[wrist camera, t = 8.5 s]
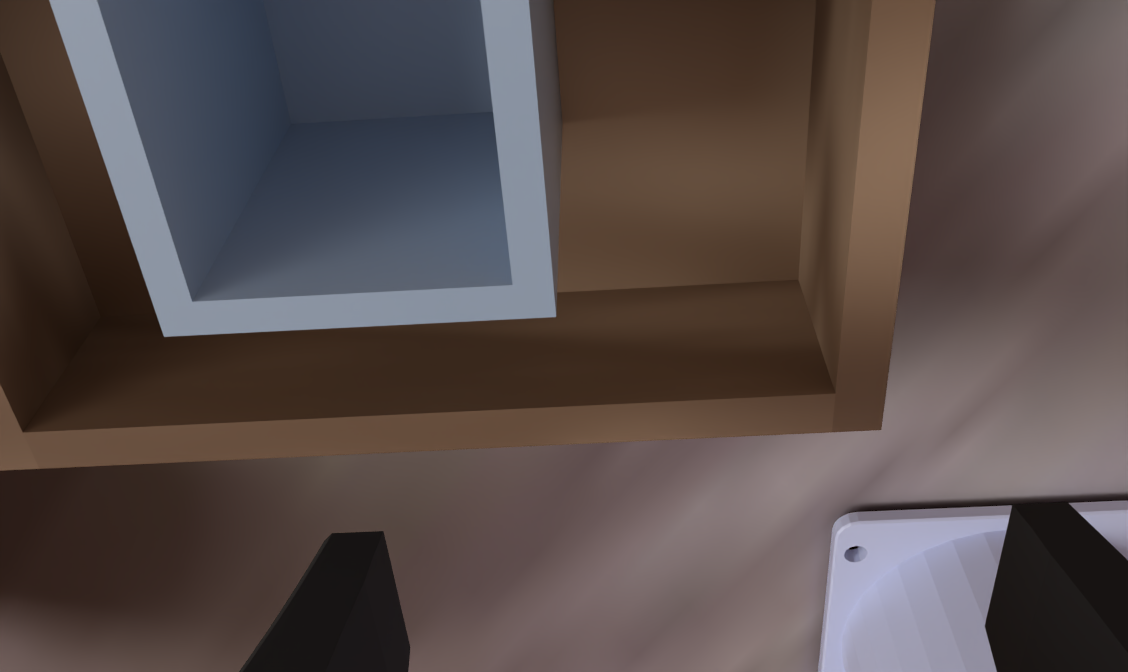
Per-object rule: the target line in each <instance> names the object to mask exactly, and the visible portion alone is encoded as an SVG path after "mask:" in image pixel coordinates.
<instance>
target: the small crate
mask: <svg viewBox="0 0 1128 672" xmlns="http://www.w3.org/2000/svg"><path fill="white" fill-rule="evenodd" d="M49 1H50V4H51V7H52V10H53V13H54V16H55V19H56V22H57V25H58V28H59V30H60V33H61V36H62V39H63V42H64V45H65V48H66V51H67V54H68V57H69V60H70V63H71V66H72V69H73V72H74V74H75V77H76V80H77V83H78V86H79V89H80V92H81V95H82V98H83V101H84V104H85V107H86V110H87V113H88V116H89V118H90V121H91V124H92V127H93V130H94V133H95V136H96V139H97V142H98V145H99V148H100V151H101V154H102V157H103V159H104V162H105V165H106V168H107V171H108V174H109V177H110V180H111V183H112V186H113V189H114V192H115V195H116V198H117V201H118V203H119V206H120V209H121V212H122V215H123V218H124V221H125V224H126V227H127V230H128V233H129V236H130V239H131V242H132V244H133V247H134V250H135V253H136V256H137V259H138V262H139V265H140V268H141V271H142V274H143V277H144V280H145V283H146V286H147V288H148V291H149V294H150V297H151V300H152V303H153V306H154V309H155V312H156V315H157V318H158V321H159V324H160V327H161V330H162V332H163V335H164V337H171V336H191V335H211V334H231V333H251V332H270V331H290V330H310V329H330V328H349V327H369V326H389V325H409V324H429V323H448V322H468V321H488V320H508V319H527V318H547V317H556V310H557V279H558V248H559V217H560V186H561V155H562V110H561V97H560V83H559V70H558V56H557V43H556V29H555V15H554V2H553V0H49Z"/></svg>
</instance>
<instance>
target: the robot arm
mask: <svg viewBox="0 0 1128 672" xmlns="http://www.w3.org/2000/svg"><path fill="white" fill-rule="evenodd" d="M854 546H860V547H858V548H857V549H853V550H849V548H850V547H854ZM409 655H410V644H409V640H408V636H407V631H406V627H405V623H404V618H403V614H402V610H401V605H400V601H399V597H398V592H397V588H396V584H395V579H394V575H393V571H392V566H391V562H390V558H389V553H388V549H387V545H386V540H385V536H384V532H383V531H379V532H355V533H332V534H331V535H330V536H329V537H328V538H327V539H326V540H325V541H324V543H323V544H322V546H321V547H320V549H319V551H318V552H317V554H316V556H315V557H314V559H313V561H312V562H311V564H310V566H309V567H308V569H307V570H306V572H305V574H304V575H303V577H302V579H301V580H300V582H299V583H298V585H297V587H296V588H295V590H294V591H293V593H292V594H291V596H290V598H289V599H288V601H287V602H286V604H285V605H284V607H283V608H282V610H281V611H280V613H279V614H278V616H277V617H276V619H275V621H274V622H273V624H272V625H271V627H270V628H269V630H268V631H267V633H266V634H265V636H264V637H263V638H262V640H261V641H260V643H259V644H258V646H257V647H256V648H255V650H254V651H253V653H252V654H251V656H250V657H249V658H248V660H247V661H246V663H245V664H244V666H243V667H242V669H241V670H240V671H239V672H408V667H409ZM818 672H1128V500H1127V501H1103V502H1080V503H1068V502H1061V503H1038V504H1014V505H1009V506H986V507H962V508H938V509H915V510H891V511H868V512H853V513H848V514H846V515H844V516H842V517H840V518H839V519H838V520H837V521H836V522H835V523H834V526H833V529H832V538H831V548H830V558H829V568H828V578H827V588H826V598H825V608H824V618H823V628H822V638H821V648H820V657H819V667H818Z"/></svg>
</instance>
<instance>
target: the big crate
mask: <svg viewBox="0 0 1128 672" xmlns="http://www.w3.org/2000/svg"><path fill="white" fill-rule="evenodd" d="M553 2H554V15H555V29H556V43H557V56H558V70H559V83H560V97H561V110H562V155H561V186H560V217H559V248H558V279H557V310H556V317H547V318H527V319H508V320H488V321H468V322H448V323H429V324H409V325H389V326H369V327H349V328H330V329H310V330H290V331H270V332H251V333H231V334H211V335H191V336H171V337H164V335H163V332H162V330H161V327H160V324H159V321H158V318H157V315H156V312H155V309H154V306H153V303H152V300H151V297H150V294H149V291H148V288H147V286H146V283H145V280H144V277H143V274H142V271H141V268H140V265H139V262H138V259H137V256H136V253H135V250H134V247H133V244H132V242H131V239H130V236H129V233H128V230H127V227H126V224H125V221H124V218H123V215H122V212H121V209H120V206H119V203H118V201H117V198H116V195H115V192H114V189H113V186H112V183H111V180H110V177H109V174H108V171H107V168H106V165H105V162H104V159H103V157H102V154H101V151H100V148H99V145H98V142H97V139H96V136H95V133H94V130H93V127H92V124H91V121H90V118H89V116H88V113H87V110H86V107H85V104H84V101H83V98H82V95H81V92H80V89H79V86H78V83H77V80H76V77H75V74H74V72H73V69H72V66H71V63H70V60H69V57H68V54H67V51H66V48H65V45H64V42H63V39H62V36H61V33H60V30H59V28H58V25H57V22H56V19H55V16H54V13H53V10H52V7H51V4H50V1H49V0H0V471H2V470H24V469H46V468H67V467H89V466H111V465H132V464H154V463H176V462H197V461H219V460H241V459H262V458H284V457H305V456H327V455H349V454H370V453H392V452H414V451H435V450H457V449H479V448H500V447H522V446H544V445H565V444H587V443H609V442H630V441H652V440H674V439H695V438H717V437H739V436H760V435H782V434H804V433H825V432H847V431H869V430H881V427H882V419H883V412H884V404H885V396H886V388H887V380H888V372H889V364H890V356H891V349H892V341H893V333H894V325H895V317H896V309H897V301H898V293H899V286H900V278H901V270H902V262H903V254H904V246H905V238H906V231H907V223H908V215H909V207H910V199H911V191H912V183H913V175H914V168H915V160H916V152H917V144H918V136H919V128H920V120H921V112H922V105H923V97H924V89H925V81H926V73H927V65H928V57H929V50H930V42H931V34H932V26H933V18H934V10H935V2H936V0H553Z"/></svg>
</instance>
